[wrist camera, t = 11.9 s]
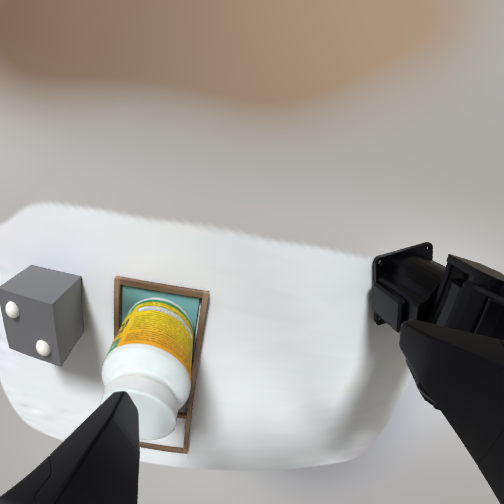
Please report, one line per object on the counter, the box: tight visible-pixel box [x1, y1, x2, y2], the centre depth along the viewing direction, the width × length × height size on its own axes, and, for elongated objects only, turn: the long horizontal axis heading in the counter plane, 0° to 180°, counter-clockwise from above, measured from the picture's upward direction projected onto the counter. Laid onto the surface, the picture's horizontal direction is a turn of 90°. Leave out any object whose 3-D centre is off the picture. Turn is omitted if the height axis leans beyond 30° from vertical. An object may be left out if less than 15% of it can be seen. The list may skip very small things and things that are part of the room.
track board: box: [114, 276, 209, 454], centre depth 22 cm, size 20×7×1 cm, turn 169°
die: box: [0, 265, 84, 366], centre depth 17 cm, size 5×5×6 cm
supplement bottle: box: [101, 297, 193, 440], centre depth 16 cm, size 5×5×10 cm
